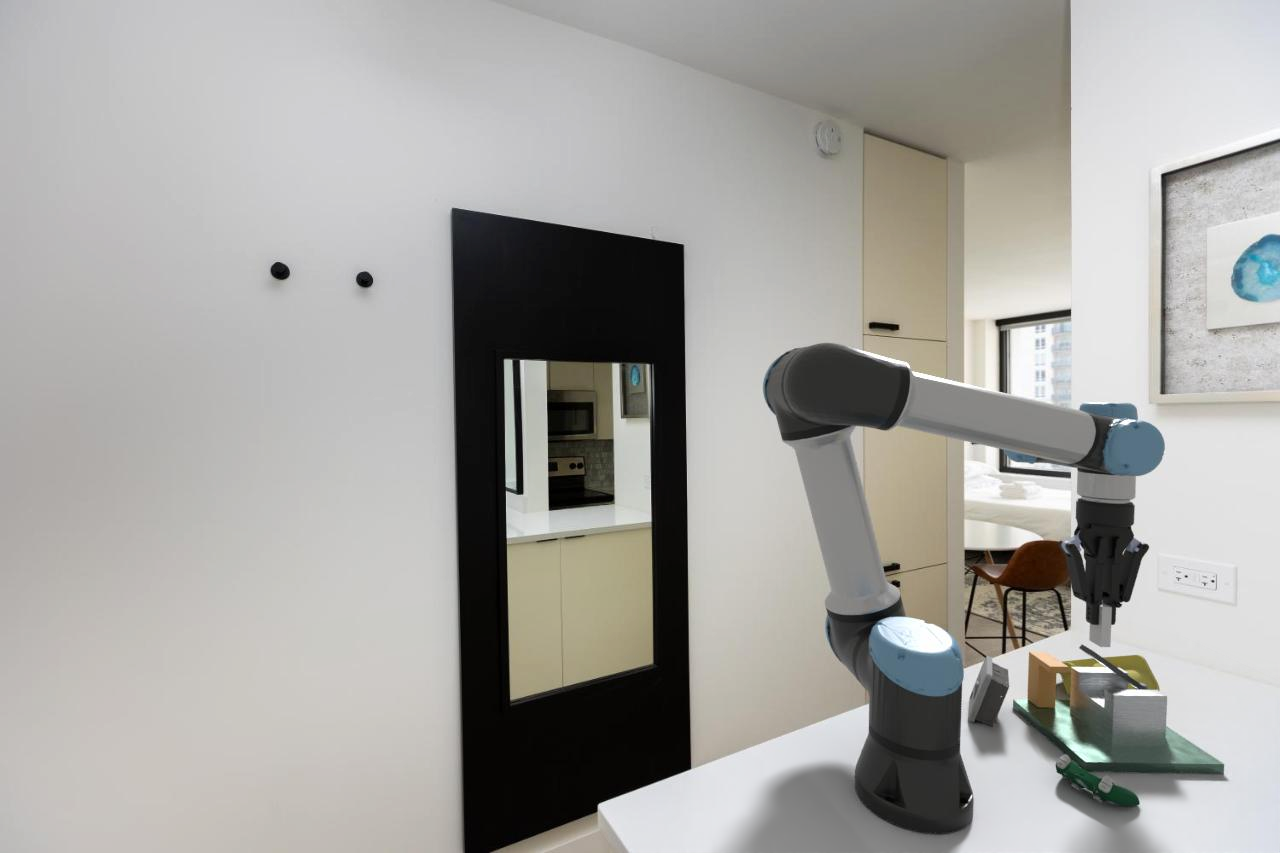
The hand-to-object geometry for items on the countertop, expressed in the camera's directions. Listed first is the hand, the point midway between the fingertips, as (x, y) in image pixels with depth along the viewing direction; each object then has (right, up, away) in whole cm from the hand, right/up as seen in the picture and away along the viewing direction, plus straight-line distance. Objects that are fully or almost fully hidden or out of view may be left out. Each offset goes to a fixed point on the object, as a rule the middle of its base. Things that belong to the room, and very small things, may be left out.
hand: (1099, 643), depth 101 cm
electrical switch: (-14, -16, +8) cm, 22 cm away
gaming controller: (-11, -17, -13) cm, 24 cm away
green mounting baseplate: (+2, -16, +1) cm, 16 cm away
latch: (-4, -14, +7) cm, 16 cm away
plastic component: (+12, -15, +18) cm, 26 cm away
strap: (+3, -5, 0) cm, 6 cm away
